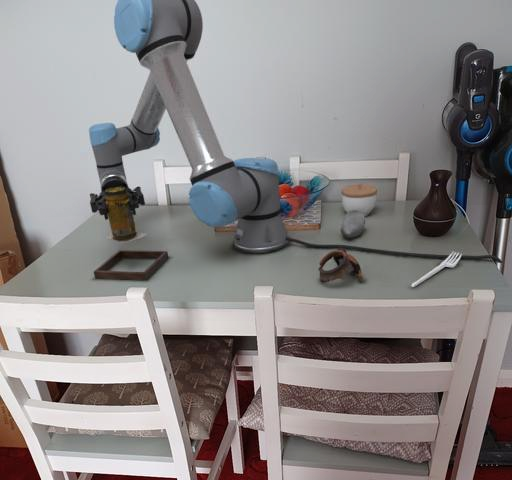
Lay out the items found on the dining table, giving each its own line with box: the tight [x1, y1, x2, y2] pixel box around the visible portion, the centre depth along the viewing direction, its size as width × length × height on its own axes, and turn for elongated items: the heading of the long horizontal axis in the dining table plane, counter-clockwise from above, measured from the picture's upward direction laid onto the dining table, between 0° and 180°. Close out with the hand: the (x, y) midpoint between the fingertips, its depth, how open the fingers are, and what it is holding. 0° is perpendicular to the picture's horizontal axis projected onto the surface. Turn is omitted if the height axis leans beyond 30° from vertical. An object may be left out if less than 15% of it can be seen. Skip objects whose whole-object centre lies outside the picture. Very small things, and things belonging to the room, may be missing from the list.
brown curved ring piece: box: [318, 248, 364, 283], centre depth 123 cm, size 12×10×8 cm
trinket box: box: [341, 182, 378, 217], centre depth 160 cm, size 11×11×9 cm
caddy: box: [93, 249, 169, 281], centre depth 139 cm, size 15×15×2 cm
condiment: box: [105, 187, 148, 244], centre depth 132 cm, size 7×8×12 cm
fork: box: [410, 251, 463, 288], centre depth 122 cm, size 3×20×2 cm, turn 134°
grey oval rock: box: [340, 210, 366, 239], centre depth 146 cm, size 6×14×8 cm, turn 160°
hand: (119, 211), depth 127 cm, fingers closed on condiment, 6 cm apart
